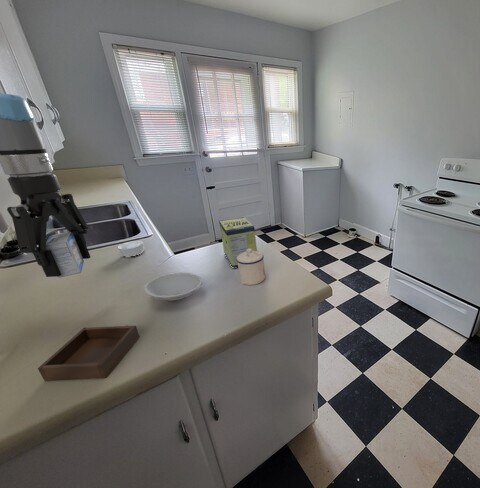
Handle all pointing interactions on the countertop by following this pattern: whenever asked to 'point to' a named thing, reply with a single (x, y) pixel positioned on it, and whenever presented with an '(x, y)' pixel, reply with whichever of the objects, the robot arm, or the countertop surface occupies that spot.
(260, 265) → the teacup with lid
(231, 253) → the protein box
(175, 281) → the dish
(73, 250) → the medicine box
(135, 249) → the ramekin
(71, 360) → the holder
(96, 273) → the countertop surface
